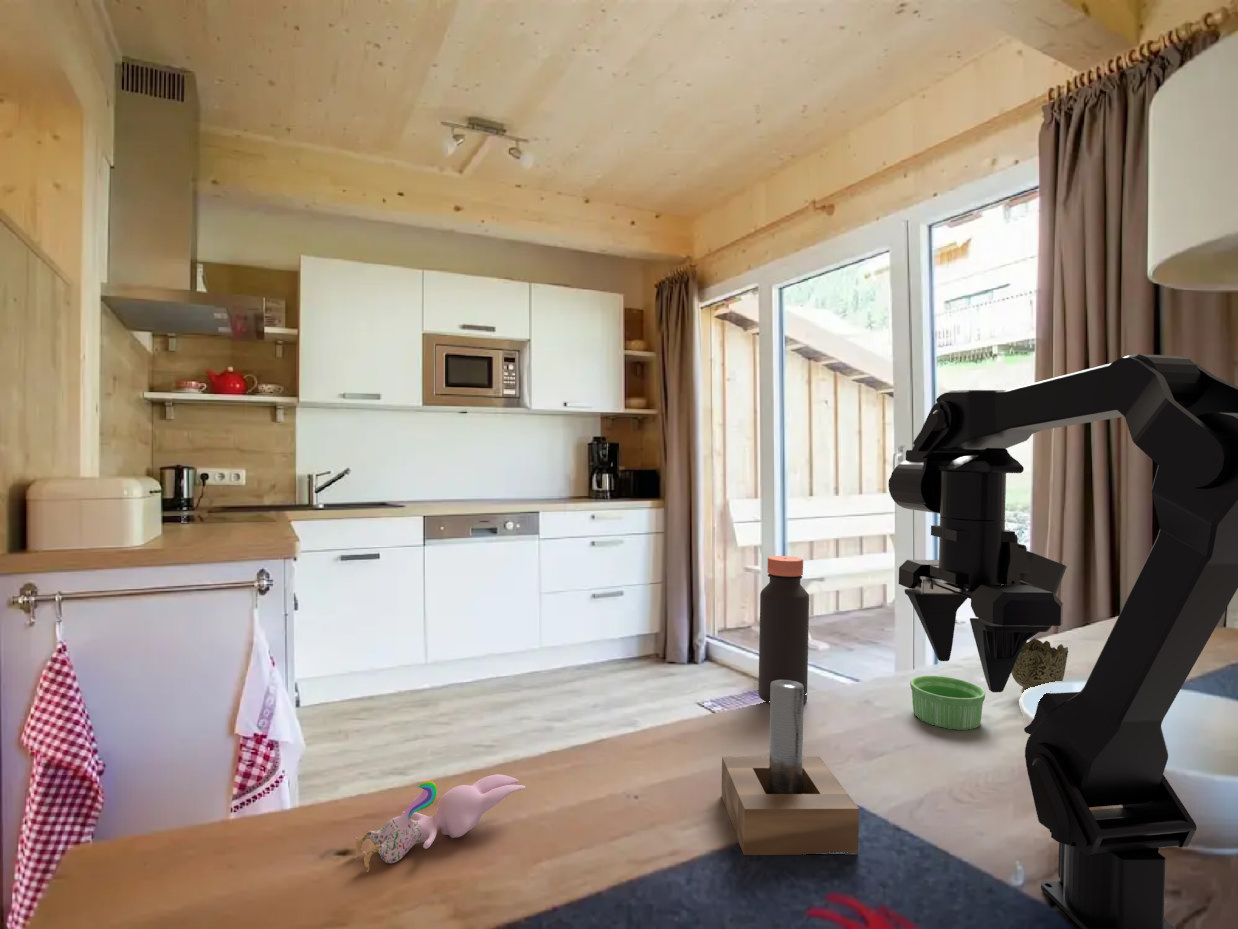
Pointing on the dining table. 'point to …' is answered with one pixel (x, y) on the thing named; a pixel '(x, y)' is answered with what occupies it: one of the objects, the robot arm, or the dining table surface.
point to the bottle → (783, 626)
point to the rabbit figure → (438, 816)
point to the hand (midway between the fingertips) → (968, 675)
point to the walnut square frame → (788, 809)
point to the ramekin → (947, 702)
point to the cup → (1039, 664)
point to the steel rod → (786, 737)
